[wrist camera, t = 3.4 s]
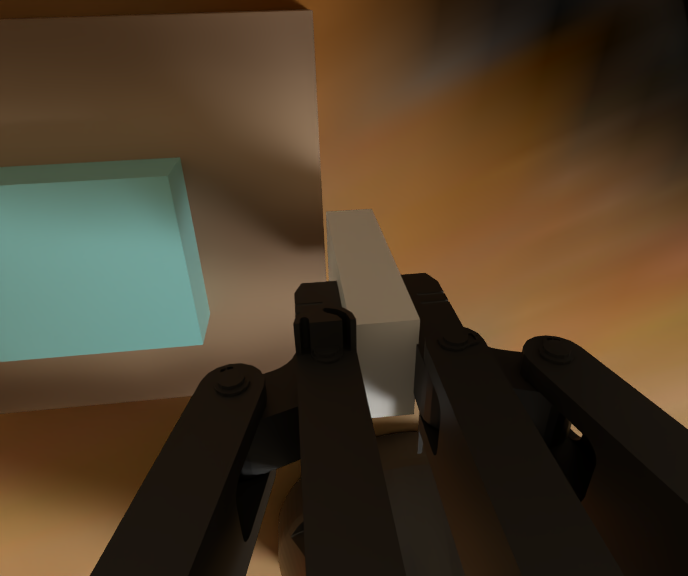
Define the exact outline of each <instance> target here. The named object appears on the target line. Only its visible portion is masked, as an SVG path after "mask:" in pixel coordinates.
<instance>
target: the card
mask: <svg viewBox="0 0 688 576" xmlns="http://www.w3.org/2000/svg"><path fill="white" fill-rule="evenodd" d="M209 317H210V310H209V305H208V300H207V294H206V289H205V284H204V279H203V274H202V269H201V263H200V258H199V253H198V248H197V243H196V237H195V232H194V227H193V222H192V217H191V211H190V206H189V201H188V196H187V191H186V186H185V180H184V175H183V170H182V165H181V160H180V157H177V158H158V159H140V160H122V161H103V162H85V163H66V164H48V165H30V166H11V167H0V362H6V361H18V360H29V359H41V358H53V357H65V356H76V355H88V354H100V353H112V352H124V351H135V350H147V349H159V348H171V347H183V346H194V345H203V343H204V339H205V334H206V330H207V325H208V321H209Z"/></svg>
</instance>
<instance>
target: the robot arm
mask: <svg viewBox="0 0 688 576" xmlns="http://www.w3.org/2000/svg"><path fill="white" fill-rule="evenodd" d="M326 220H327V244H328V267H329V281H326V282H312V283H301V284H300V286H299V287H298V289H297V290H296V291H295V293H294V299H295V320H294V323H293V328H294V339H295V350H296V353H295V355H294V356H293V358H292V359H291V360H290V361H289V362H288V363H287V364H285V365H284V366H282V367H280V368H278V369H276V370H273V371H270V372H267V373H264V374H262V372H261V370H259V369H258V368H256V367H254V366H253V365H248V364H243V363H236V364H228V365H224V366H221V367H218V368H216V369H214V370H213V371H211V372H209V373H208V374H207V375H206V376H205V377H204V378H203V379H202V380H201V382H200V383H199V385H198V387H197V389H196V390H195V392H194V394H193V396H192V397H191V399H190V401H189V403H188V404H187V406H186V408H185V410H184V411H183V413H182V415H181V417H180V418H179V420H178V422H177V424H176V425H175V427H174V429H173V431H172V432H171V434H170V436H169V438H168V439H167V441H166V443H165V445H164V447H163V448H162V450H161V452H160V454H159V455H158V457H157V459H156V461H155V462H154V464H153V466H152V468H151V469H150V471H149V473H148V475H147V476H146V478H145V480H144V482H143V483H142V485H141V487H140V489H139V490H138V492H137V494H136V496H135V497H134V499H133V501H132V503H131V505H130V506H129V508H128V510H127V512H126V513H125V515H124V517H123V519H122V520H121V522H120V524H119V526H118V527H117V529H116V531H115V533H114V534H113V536H112V538H111V540H110V541H109V543H108V545H107V547H106V548H105V550H104V552H103V554H102V555H101V557H100V559H99V561H98V563H97V564H96V566H95V568H94V570H93V571H92V573H91V575H90V576H246V573H247V570H248V566H249V563H250V560H251V556H252V553H253V550H254V546H255V543H256V540H257V536H258V533H259V529H260V526H261V523H262V519H263V516H264V513H265V509H266V506H267V503H268V499H269V496H270V493H271V489H272V486H273V483H274V479H275V476H276V469H277V468H280V467H282V466H285V465H287V464H290V463H292V462H295V461H297V460H300V459H301V478H300V480H299V481H298V482H297V483H296V484H295V485H294V487H293V488H292V489H291V491H290V492H289V494H288V495H287V497H286V499H285V501H284V503H283V505H282V508H281V511H280V515H279V522H278V558H279V566H280V571H281V575H282V576H688V429H687V428H685V427H684V426H683V425H681V424H680V423H679V422H678V421H676V420H675V419H674V418H672V417H671V416H670V415H669V414H667V413H666V412H665V411H663V410H662V409H661V408H659V407H658V406H657V405H656V404H654V403H653V402H652V401H650V400H649V399H648V398H646V397H645V396H644V395H643V394H641V393H640V392H639V391H637V390H636V389H635V388H633V387H632V386H631V385H630V384H628V383H627V382H626V381H624V380H623V379H622V378H620V377H619V376H618V375H617V374H615V373H614V372H613V371H611V370H610V369H609V368H608V367H606V366H605V365H604V364H602V363H601V362H600V361H598V360H597V359H596V358H595V357H593V356H592V355H591V354H589V353H588V352H587V351H585V350H584V349H583V348H582V347H580V346H578V345H577V344H575V343H573V342H572V341H569V340H566V339H563V338H560V337H555V336H537V337H533V338H531V339H529V340H527V341H526V343H525V344H524V346H523V350H522V352H516V351H507V350H500V349H495V348H491V347H488V346H487V344H486V342H485V341H484V339H483V338H482V337H481V336H480V335H479V334H478V333H476V332H475V331H473V330H471V329H469V328H465V327H463V326H462V324H461V322H460V320H459V318H458V317H457V315H456V313H455V311H454V309H453V308H452V306H451V304H450V302H448V299H447V297H446V295H445V293H443V290H442V288H441V286H440V284H439V283H438V281H437V280H435V279H434V278H432V277H431V276H429V275H428V274H426V273H418V274H405V275H400V272H399V270H398V268H397V266H396V263H395V261H394V259H393V256H392V254H391V252H390V250H389V247H388V245H387V243H386V240H385V238H384V236H383V234H382V231H381V229H380V227H379V224H378V222H377V220H376V218H375V215H374V213H373V211H372V209H363V210H346V211H330V212H326ZM415 399H416V402H417V405H418V408H419V411H420V413H419V426H418V432H405V433H397V434H390V435H385V436H380V437H376V436H375V432H374V427H373V423H372V418H378V417H388V416H399V415H409V414H414V404H415ZM571 424H573V425H574V426H575V427H576V428H577V429H578V430H579V431H580V432H581V433H582V434H583V435H582V437H579V436H578V435H577V434H575V433H574V432H573V431H572V430H571V429H570V428H571Z"/></svg>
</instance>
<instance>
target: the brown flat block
mask: <svg viewBox="0 0 688 576" xmlns="http://www.w3.org/2000/svg"><path fill="white" fill-rule="evenodd" d="M177 157H180V160H181V165H182V170H183V175H184V180H185V186H186V191H187V196H188V201H189V206H190V211H191V217H192V222H193V227H194V232H195V237H196V243H197V248H198V253H199V258H200V263H201V269H202V274H203V279H204V284H205V289H206V294H207V300H208V305H209V310H210V317H209V321H208V325H207V330H206V334H205V339H204V343H203V345H194V346H183V347H171V348H159V349H147V350H135V351H124V352H112V353H100V354H88V355H76V356H65V357H53V358H41V359H29V360H18V361H6V362H0V414H4V413H15V412H25V411H36V410H47V409H58V408H68V407H79V406H90V405H101V404H111V403H122V402H133V401H144V400H155V399H165V398H176V397H187V396H193V394H194V392H195V390H196V389H197V387H198V385H199V383H200V382H201V380H202V379H203V378H204V377H205V376H206V375H207V374H208V373H209V372H211V371H213V370H214V369H216V368H218V367H221V366H224V365H228V364H236V363H243V364H248V365H253V366H254V367H256V368H258V369H259V370H261V372H262V374H264V373H267V372H270V371H273V370H276V369H278V368H280V367H282V366H284V365H285V364H287V363H288V362H289V361H290V360H291V359H292V358H293V356H294V355H295V353H296V350H295V339H294V328H293V323H294V320H295V299H294V293H295V291H296V290H297V289H298V287H299V286H300V284H301V283H312V282H326V267H325V248H324V228H323V208H322V188H321V169H320V149H319V129H318V109H317V90H316V70H315V50H314V30H313V11H312V10H308V9H303V10H271V11H239V12H207V13H175V14H143V15H111V16H79V17H47V18H15V19H0V167H11V166H30V165H48V164H66V163H85V162H103V161H122V160H140V159H158V158H177Z"/></svg>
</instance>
